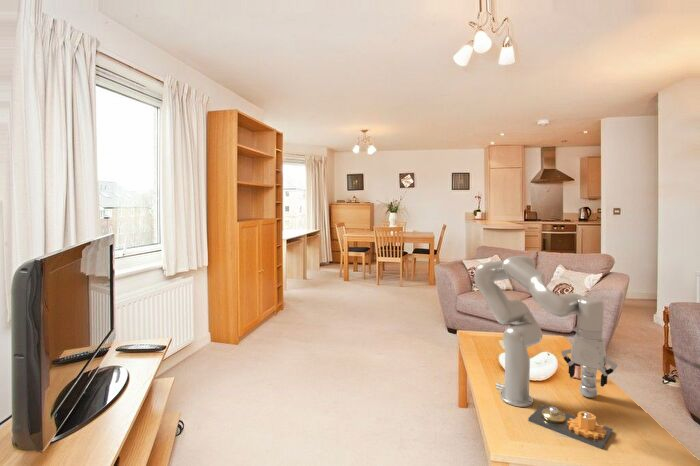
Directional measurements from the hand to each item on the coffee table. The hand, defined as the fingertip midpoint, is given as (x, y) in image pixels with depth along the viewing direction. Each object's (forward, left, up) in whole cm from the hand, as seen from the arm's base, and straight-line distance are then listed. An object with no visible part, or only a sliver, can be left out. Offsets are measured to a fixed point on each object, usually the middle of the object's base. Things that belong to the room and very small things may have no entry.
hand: (587, 380), depth 137 cm
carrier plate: (-5, 0, -19) cm, 20 cm away
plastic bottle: (-7, +31, -19) cm, 37 cm away
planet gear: (0, 0, -18) cm, 18 cm away
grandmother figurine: (-16, +47, -19) cm, 53 cm away
